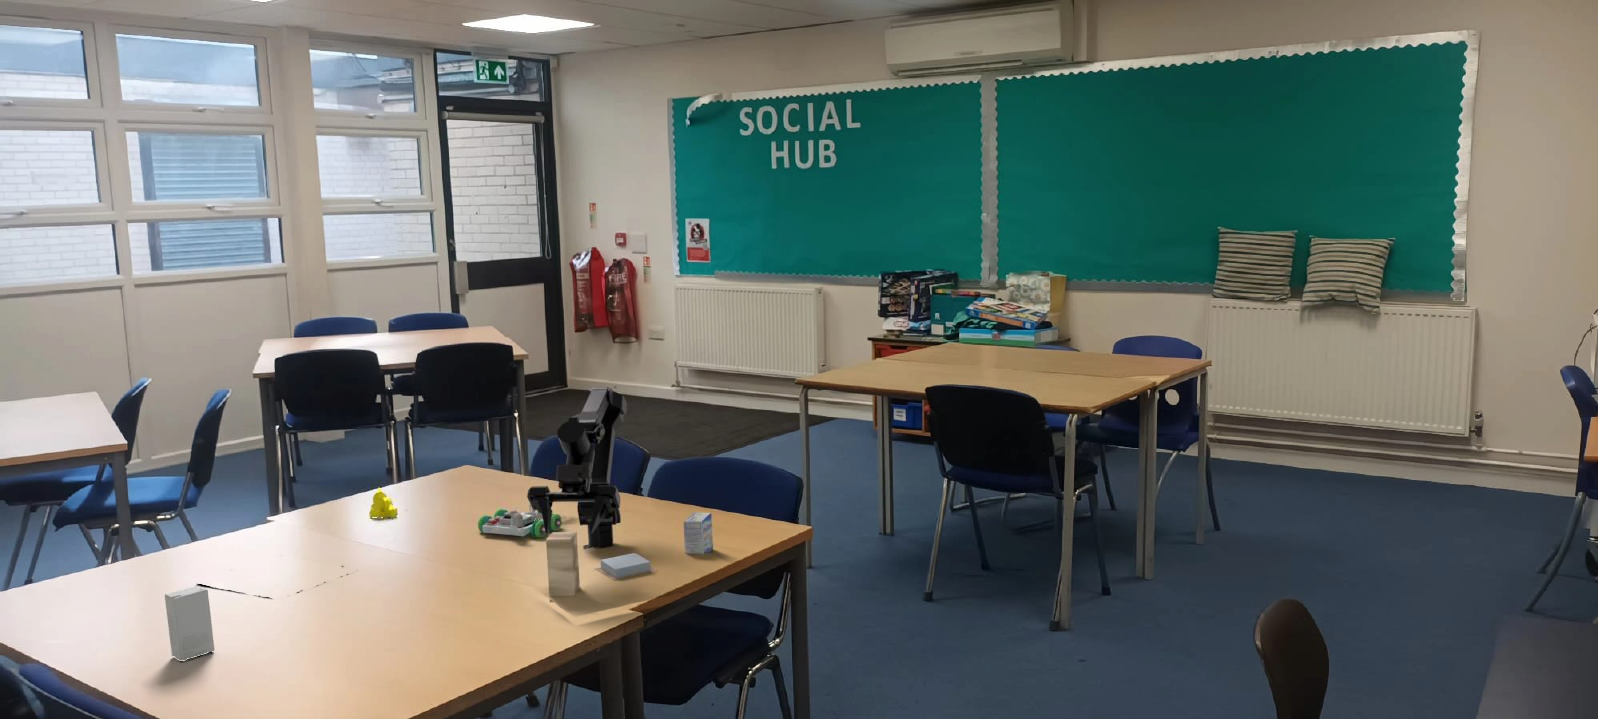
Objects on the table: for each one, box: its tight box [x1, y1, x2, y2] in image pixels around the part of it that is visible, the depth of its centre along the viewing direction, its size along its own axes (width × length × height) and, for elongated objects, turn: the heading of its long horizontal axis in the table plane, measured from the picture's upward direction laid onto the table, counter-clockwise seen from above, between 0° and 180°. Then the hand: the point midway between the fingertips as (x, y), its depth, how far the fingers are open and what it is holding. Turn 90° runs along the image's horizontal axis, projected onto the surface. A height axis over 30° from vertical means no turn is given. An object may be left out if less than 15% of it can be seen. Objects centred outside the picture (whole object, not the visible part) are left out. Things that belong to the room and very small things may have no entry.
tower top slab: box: [600, 552, 652, 578], centre depth 244 cm, size 8×8×2 cm
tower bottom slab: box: [595, 567, 658, 582], centre depth 245 cm, size 10×10×2 cm
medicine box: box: [683, 512, 714, 555], centre depth 259 cm, size 8×4×9 cm, turn 168°
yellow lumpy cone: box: [369, 487, 398, 518], centre depth 300 cm, size 6×8×8 cm
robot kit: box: [477, 503, 563, 539], centre depth 286 cm, size 19×25×9 cm
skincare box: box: [164, 585, 215, 660], centre depth 206 cm, size 6×4×12 cm
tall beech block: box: [545, 531, 581, 603], centre depth 231 cm, size 5×5×13 cm
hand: (568, 533), depth 236 cm, fingers open, 9 cm apart
